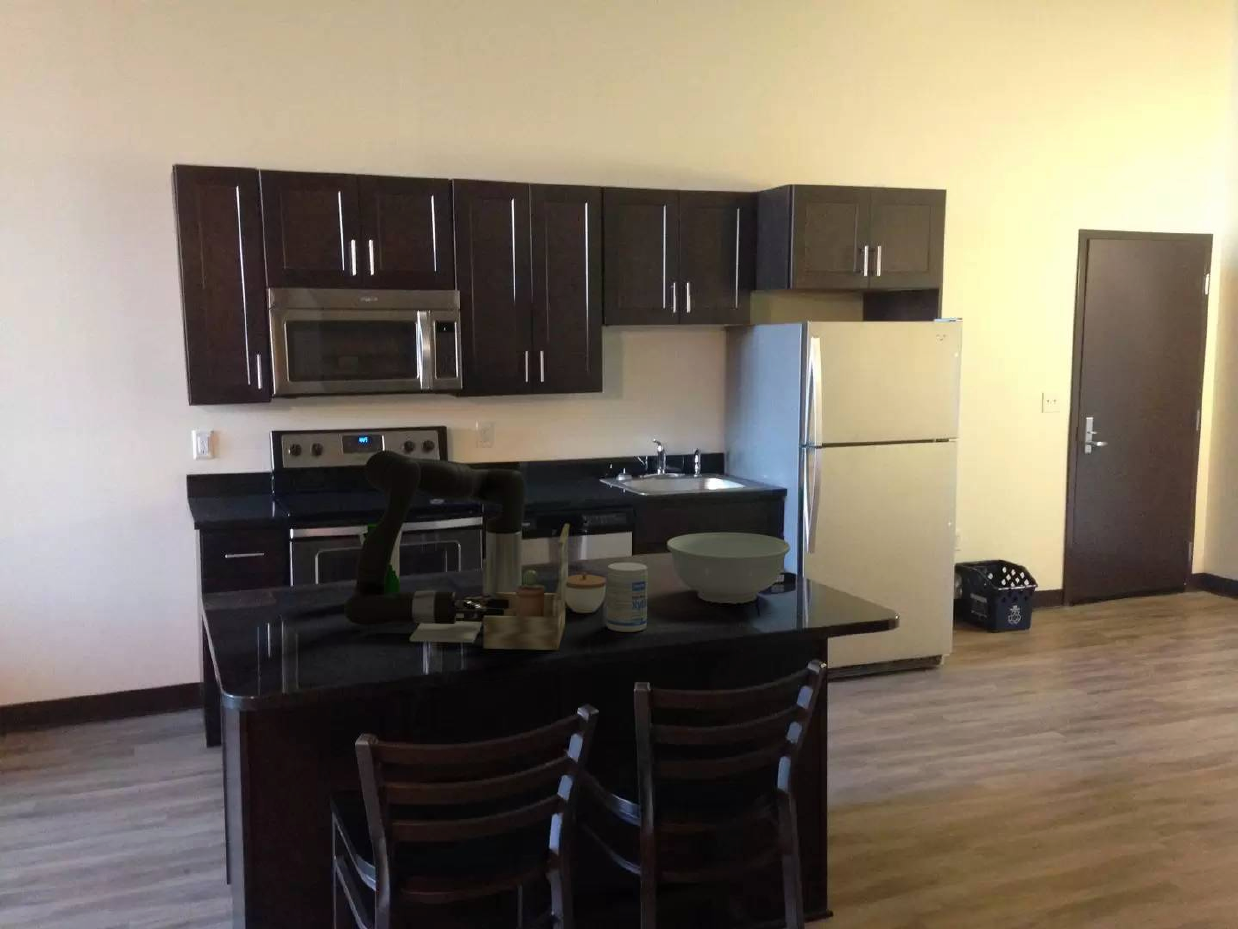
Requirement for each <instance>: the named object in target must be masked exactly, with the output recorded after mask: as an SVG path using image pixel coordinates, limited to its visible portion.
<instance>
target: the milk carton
mask: <svg viewBox="0 0 1238 929" xmlns="http://www.w3.org/2000/svg"><path fill="white" fill-rule="evenodd" d="M377 524H378V523H371V524H370V523H369V524H367V527H366V528H367V530H366V531H362V532H360V533H358V536H359V541H360V545H361V547H362V545H363V542H364V540H365V538H366V537H367V535H368V534H369V533H370V532H371V530H372V529H373V528H374V527H375V526H376V525H377ZM402 534H403V531H402V530H400V532H399V534H398V537H397V539H396V542H395V545H394V549H393V552H392V557H391V561H390V565H389V569H388V573H387V576H386V580H385V591H384V595H389V594H391V593H393V592H398V591H401V585H400V544H401V538H402Z"/></svg>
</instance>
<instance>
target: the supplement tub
mask: <svg viewBox="0 0 1238 929" xmlns="http://www.w3.org/2000/svg"><path fill="white" fill-rule="evenodd" d="M606 573H607V574H606V618H605V619H606V622H605V623H606V624H605V625H606V627H607V628H608V629H610V630H612V631H615V632H619V633H620V632H621V633H623V632H624V633H635V632H640V631H643V630H644V629H646V627H647V622H648V615H647V614H648V579H649V578H648V577H649V576H648V566H647V565H645V564H642V563H638V562H615V563H611V564H609V565H607V572H606Z"/></svg>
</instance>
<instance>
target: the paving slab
mask: <svg viewBox="0 0 1238 929" xmlns="http://www.w3.org/2000/svg"><path fill="white" fill-rule="evenodd" d="M481 626H482V627H483V621H482V622H471V621H456V623H455V624H423V623H419V625H418V626H417V628H416V629H415V631H414V632H413V633H412V634H411V635H410V636H409V642H422V643H423V642H424V643H427V642H428V643H429V642H430V643H474V641H475V639H476V637H477V636H478V634H479V632H480V630H481V629H482V627H481ZM480 628H481V629H480Z"/></svg>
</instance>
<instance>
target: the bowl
mask: <svg viewBox="0 0 1238 929" xmlns="http://www.w3.org/2000/svg"><path fill="white" fill-rule="evenodd" d="M666 547H667V549H668V550H669V551H670V553H671V556H672V562H673V566H674V570H675V572H676V575H677V576H678V578H679V579H680V580H681V581H682V583H684V584H685V585H687V586H688V587H689V588H690V589H693V590H695V591H697V597H698V598H699V599H700V598H701V599H700V600H702V599H703V601H705V602H708V601H711V602H710V603H713V602H718V603H717V604H722V603H729V604H728V605H734V604H735V605H736V604H737V603H740V604H746V602H747V603H750V601H751V602H753V601H755V600H757V597H758V593H759V592H761V591H764V590H766V589H768V588H769V587H771V586H772V585H773V584H775V583H776V582H777V580H778V578H779V577H780V576H781V573H782V570H783V565H784V560H785V558H786V555H787V554H788V553H789V552H790V551H791V545H790V543H789V542H787V541H786V540H783V539H781V538H778V537H776V536H769V535H764V534H756V533H746V532H702V533H701V532H700V533H691V534H690V533H689V534H684V535H679V536H675V537H673V538H671V539H668V540H667V543H666ZM730 603H732V604H730ZM737 605H738V604H737Z"/></svg>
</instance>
